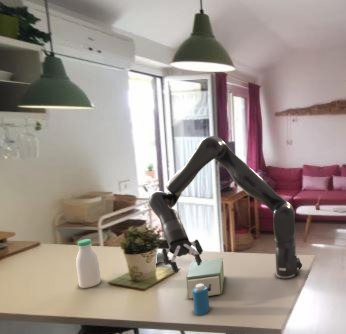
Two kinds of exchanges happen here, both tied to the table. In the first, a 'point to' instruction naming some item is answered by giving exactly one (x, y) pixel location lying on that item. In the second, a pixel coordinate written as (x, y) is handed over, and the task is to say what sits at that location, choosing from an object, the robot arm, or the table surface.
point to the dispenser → (207, 270)
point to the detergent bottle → (200, 299)
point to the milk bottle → (87, 265)
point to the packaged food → (160, 258)
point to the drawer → (209, 281)
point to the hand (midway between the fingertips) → (188, 268)
